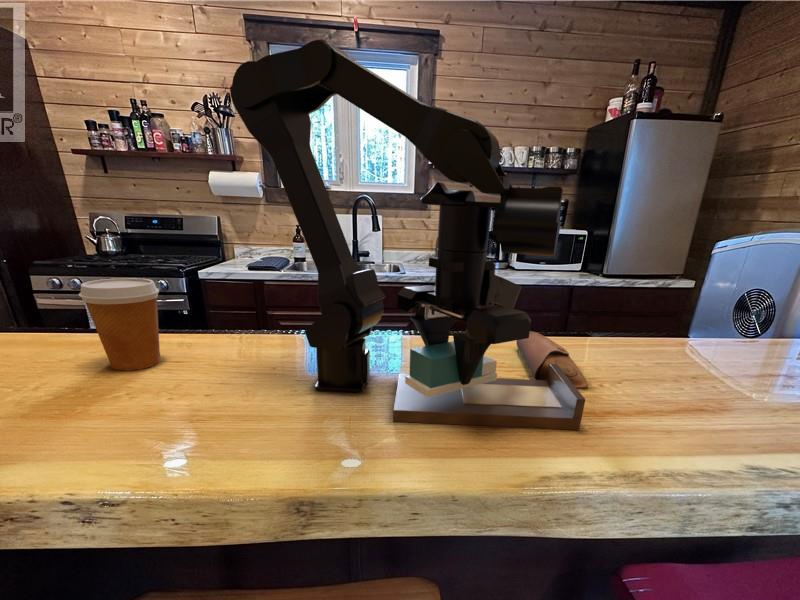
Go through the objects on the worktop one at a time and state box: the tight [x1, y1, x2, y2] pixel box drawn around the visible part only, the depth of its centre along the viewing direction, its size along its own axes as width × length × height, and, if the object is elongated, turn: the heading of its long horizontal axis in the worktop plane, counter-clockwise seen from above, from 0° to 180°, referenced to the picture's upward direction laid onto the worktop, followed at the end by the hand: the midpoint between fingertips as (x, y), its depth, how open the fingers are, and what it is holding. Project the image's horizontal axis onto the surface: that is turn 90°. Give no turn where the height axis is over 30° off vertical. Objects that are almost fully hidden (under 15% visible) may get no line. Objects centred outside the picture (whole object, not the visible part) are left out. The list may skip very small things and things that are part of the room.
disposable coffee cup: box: [78, 277, 161, 371], centre depth 63 cm, size 10×10×12 cm
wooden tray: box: [392, 364, 586, 431], centre depth 56 cm, size 22×12×4 cm, turn 89°
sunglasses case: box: [516, 330, 589, 389], centre depth 71 cm, size 18×7×7 cm
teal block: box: [405, 340, 498, 397], centre depth 54 cm, size 11×5×5 cm, turn 124°
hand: (452, 377), depth 55 cm, fingers closed on teal block, 5 cm apart
